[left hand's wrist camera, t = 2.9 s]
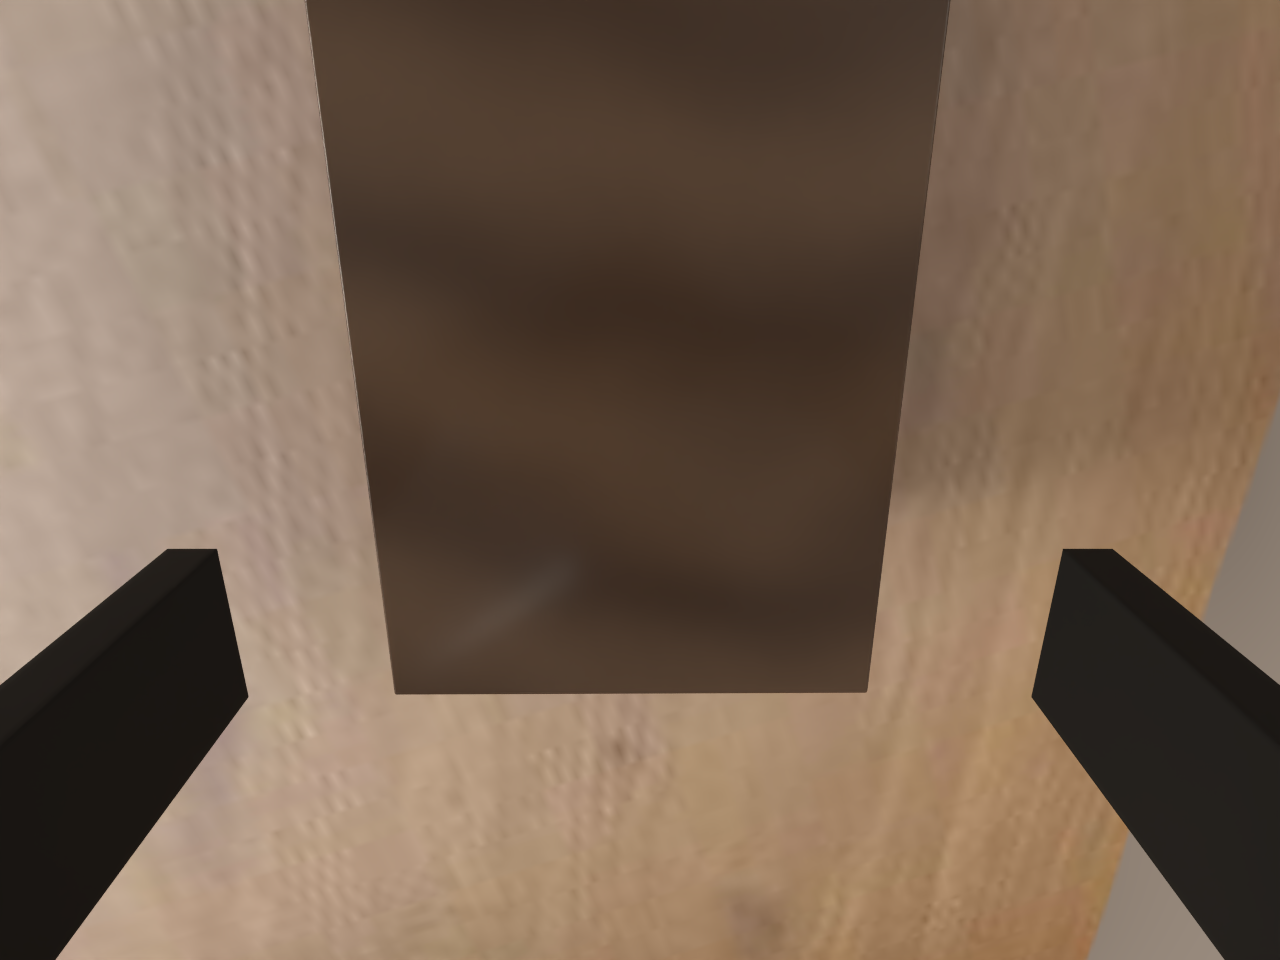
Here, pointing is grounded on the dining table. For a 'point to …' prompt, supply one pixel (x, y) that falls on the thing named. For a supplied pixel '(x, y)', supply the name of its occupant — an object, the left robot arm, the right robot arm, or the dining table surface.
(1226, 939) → the left robot arm
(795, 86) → the cabinet
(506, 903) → the dining table surface
